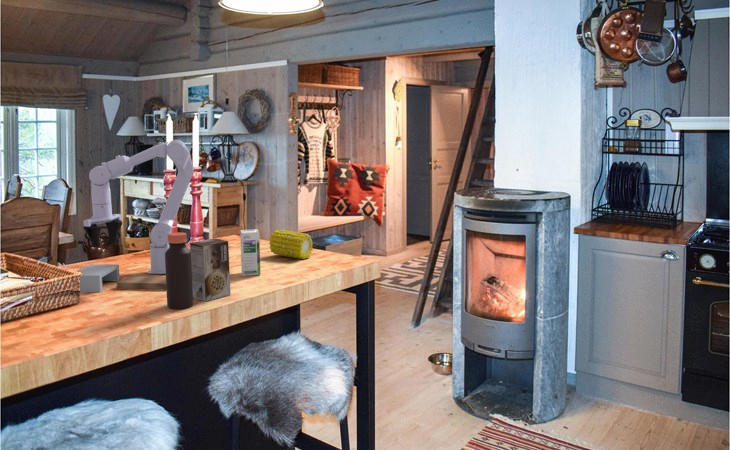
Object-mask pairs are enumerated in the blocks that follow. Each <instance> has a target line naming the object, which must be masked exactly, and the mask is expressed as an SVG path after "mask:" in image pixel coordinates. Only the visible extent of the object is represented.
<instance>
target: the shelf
mask: <svg viewBox="0 0 730 450" xmlns="http://www.w3.org/2000/svg"><path fill="white" fill-rule="evenodd" d="M76 271H77V272H81V273H82V276H80V278H79V280H80V292H79V293H101V292H102V291H103V282H119V281H121V280H120V265H119V264H116V263H115V264H106V263H105V264H102V263H101V264H97V263H94V264H93V263H92V264H88V265H87V266H84V267H83V268H80V269H79V270H76Z"/></svg>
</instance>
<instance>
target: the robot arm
mask: <svg viewBox="0 0 730 450" xmlns="http://www.w3.org/2000/svg"><path fill="white" fill-rule="evenodd" d="M167 157H168V158H169V159H170V160H171V161H172V162H173V163H174V165H175V167H176V169H177V175H176V177H175V180H174V182H173V184H172V187H171V189H170V192H169V194H168V197H167V200H166V203H165V204H164V207H163V209H162V212H161V215H160V217H159V220H158V222H157V223H156V224H155V225H154V226H153V227H152V228H151V232H150V233H149V234H150V235H149V239H150V242H151V243H149V256H150V257H149V258H150V269H149V270H148V271H147V272H146V274H147V275H148V274H150V275H151V274H153V275H157V274H158V275H159V274H160V275H166V269H165V252H166V251H167V250H168V249H169V244H168V234H170V233H172V231H171V229H172V227H173V224H174V221H175V220H176V216H177V214H178V211H179V209H180V206H181V204H182V202H183V199H184V197H185V195H186V192H187V190H188V188H189V186H190V185H189V184H190V182H191V181H192V177H193V175H194V172H195V171H194V165H193V161H192V157H191V152H190V150H189V149H188V147H187V145H186V144H185V142H184V141H182V140H180V139H173V140H172V141H170V142H169V141H166V142H164V143H159V144H156V145H153V146H152V147H150V148H147V149H145V150H142V151H141V152H138V153H136V154H134V155H131V156H130V157H129V156H127V155H120V154H119V155H116V156H115V158H114V159H112V160H109V161H106V162H104V161H103V162H101V163H100V164H101V165H96V166H94V167H93V168H92V169H90V170H89V174H88V179H89V180H90V187H91V190H90V193H91V194H90V195H91V205H92V216H91V218H86V219H84V220H83V221H82V223H83V226H82V227H83V230H84V231H85V232H86V235H87V236H88V238H89V240H90V242H91V245H92V248H100V244H101V243H100V240H101V239H100V236H101V230H102V226H98V225H100V224H105V226H106V229H107V234H108V240H109V243H110V244H117V242H118V241H117V240H118V236H119V232H120V229H121V227H122V226H123V220H122V214H121V213H115V214H114V213H113V209H112V208H113V207H112V194H111V188H110V180H116V179H118V178H121V177H122V176H124V175H127V174H129V173H132V171H133V169H134V167H135V166H137V165H140V164H143V163H145V162H147V161H151V160H152V159H155V158H162V159H163V158H164V159H166V158H167Z"/></svg>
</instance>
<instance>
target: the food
mask: <svg viewBox="0 0 730 450" xmlns="http://www.w3.org/2000/svg"><path fill="white" fill-rule="evenodd" d="M269 249H270V252H271V253H273V254H274V255H278V256H283V257H289V258H294V259H302V260H305V259H308V258H310V257H311V254H312V251H313V240H312V236H311V235H309V234H308V233H304V232H303V233H302V232H298V231H291V230H285V229H276V230H274V231H273V232H272V234H270V238H269Z"/></svg>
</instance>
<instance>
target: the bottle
mask: <svg viewBox="0 0 730 450" xmlns="http://www.w3.org/2000/svg"><path fill="white" fill-rule="evenodd" d="M187 236H188V235H187V233H186V232H178V231H177V232H171V233H170V234H168V244H169V249H168V250H167V251H166V252H165V269H166V274H165V277H166V290H165V291H166V306H167V307H168V308H169V309H171V310H184V309H189V308H191V307H192V306H193V305H194V298H193V289H192V264H191V251H190V248H188V247H187V244H188V243H187V241H188V237H187Z"/></svg>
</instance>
